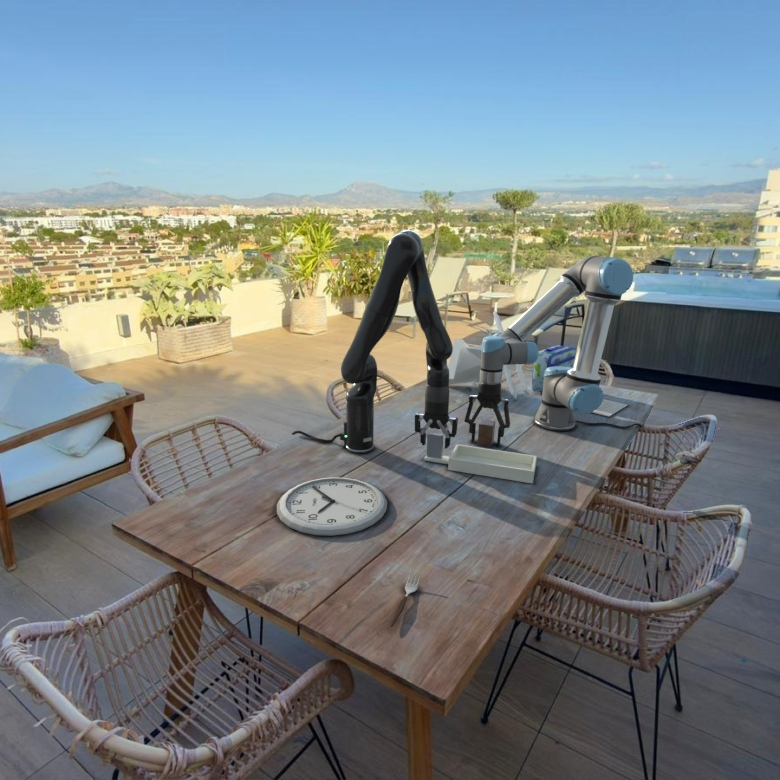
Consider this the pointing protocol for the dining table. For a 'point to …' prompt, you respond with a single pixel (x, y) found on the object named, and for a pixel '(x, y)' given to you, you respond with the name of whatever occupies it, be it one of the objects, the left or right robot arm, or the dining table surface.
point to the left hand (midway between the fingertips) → (435, 445)
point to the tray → (482, 460)
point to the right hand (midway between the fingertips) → (485, 443)
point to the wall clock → (331, 506)
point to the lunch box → (551, 363)
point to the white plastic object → (477, 364)
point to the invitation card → (609, 407)
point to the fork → (409, 589)
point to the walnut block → (486, 433)
